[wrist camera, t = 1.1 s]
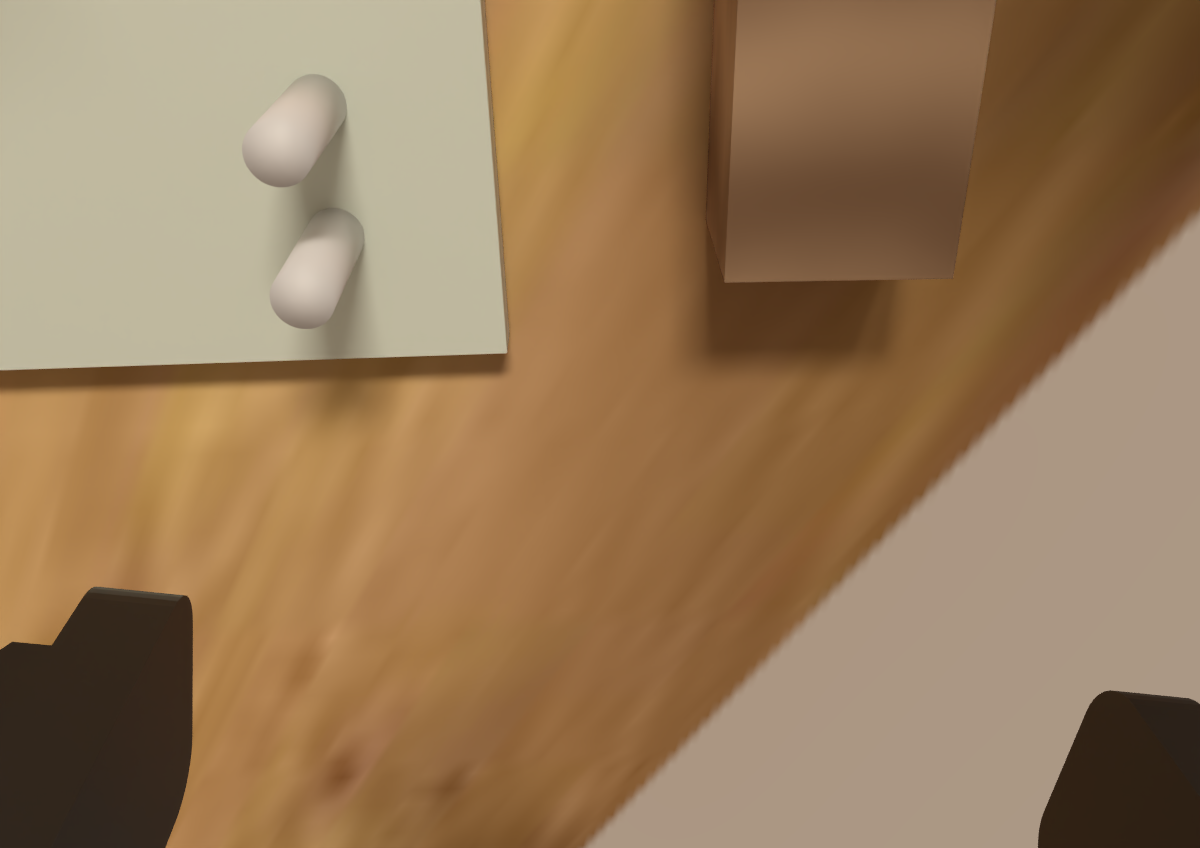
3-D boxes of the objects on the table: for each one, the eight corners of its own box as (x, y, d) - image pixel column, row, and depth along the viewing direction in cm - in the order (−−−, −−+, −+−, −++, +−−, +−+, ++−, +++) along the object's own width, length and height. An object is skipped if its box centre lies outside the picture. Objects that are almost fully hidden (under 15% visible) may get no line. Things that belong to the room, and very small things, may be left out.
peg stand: (-401, -37, 26) (-611, 2, 21) (479, -65, 26) (459, -32, 21) (-228, 358, 30) (-368, 458, 26) (509, 333, 31) (498, 429, 26)
